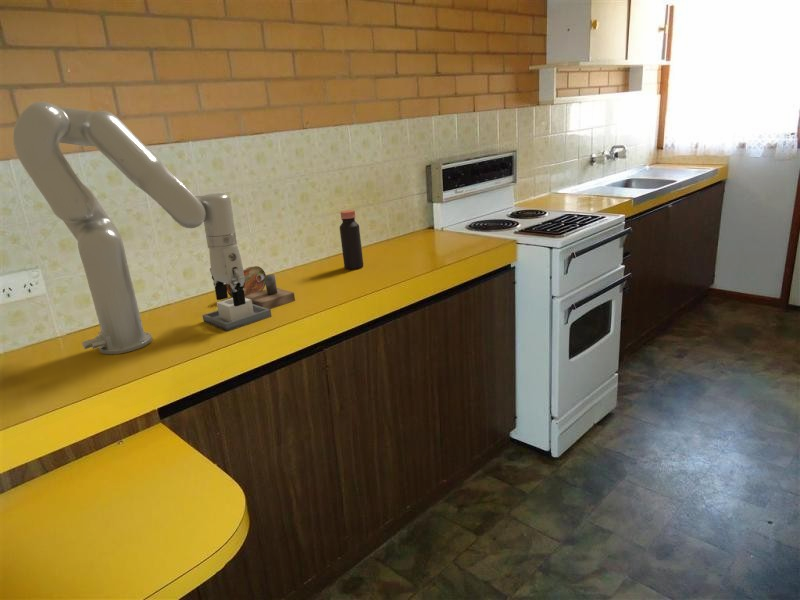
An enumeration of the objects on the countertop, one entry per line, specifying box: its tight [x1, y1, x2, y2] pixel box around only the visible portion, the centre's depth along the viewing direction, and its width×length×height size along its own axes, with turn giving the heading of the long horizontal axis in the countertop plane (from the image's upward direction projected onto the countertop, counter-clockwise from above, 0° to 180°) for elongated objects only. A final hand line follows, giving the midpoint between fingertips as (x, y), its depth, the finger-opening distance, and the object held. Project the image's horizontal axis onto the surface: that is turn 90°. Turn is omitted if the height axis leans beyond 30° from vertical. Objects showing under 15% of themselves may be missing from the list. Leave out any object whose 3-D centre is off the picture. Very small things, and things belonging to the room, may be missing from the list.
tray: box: [201, 304, 272, 332], centre depth 159 cm, size 14×14×2 cm
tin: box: [225, 265, 267, 298], centre depth 181 cm, size 15×3×8 cm, turn 148°
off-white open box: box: [216, 297, 254, 322], centre depth 159 cm, size 7×7×4 cm
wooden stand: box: [245, 273, 296, 310], centre depth 171 cm, size 11×11×8 cm
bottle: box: [339, 209, 364, 271], centre depth 200 cm, size 7×7×20 cm
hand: (230, 301), depth 158 cm, fingers open, 9 cm apart
